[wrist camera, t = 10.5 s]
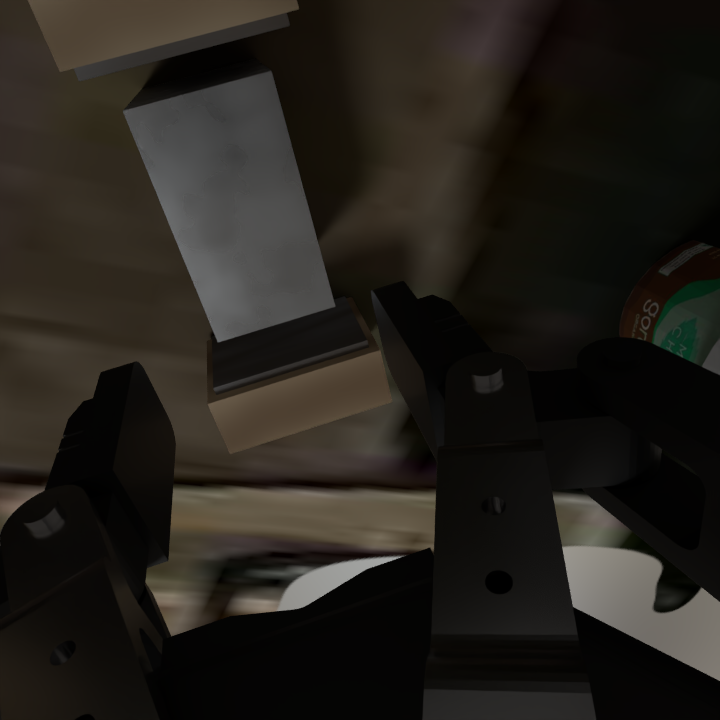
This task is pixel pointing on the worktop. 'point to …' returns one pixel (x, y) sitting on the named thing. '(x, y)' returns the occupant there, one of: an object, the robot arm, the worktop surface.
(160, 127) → the block
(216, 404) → the block
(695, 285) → the food container
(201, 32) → the beige brown block
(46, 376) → the worktop surface
